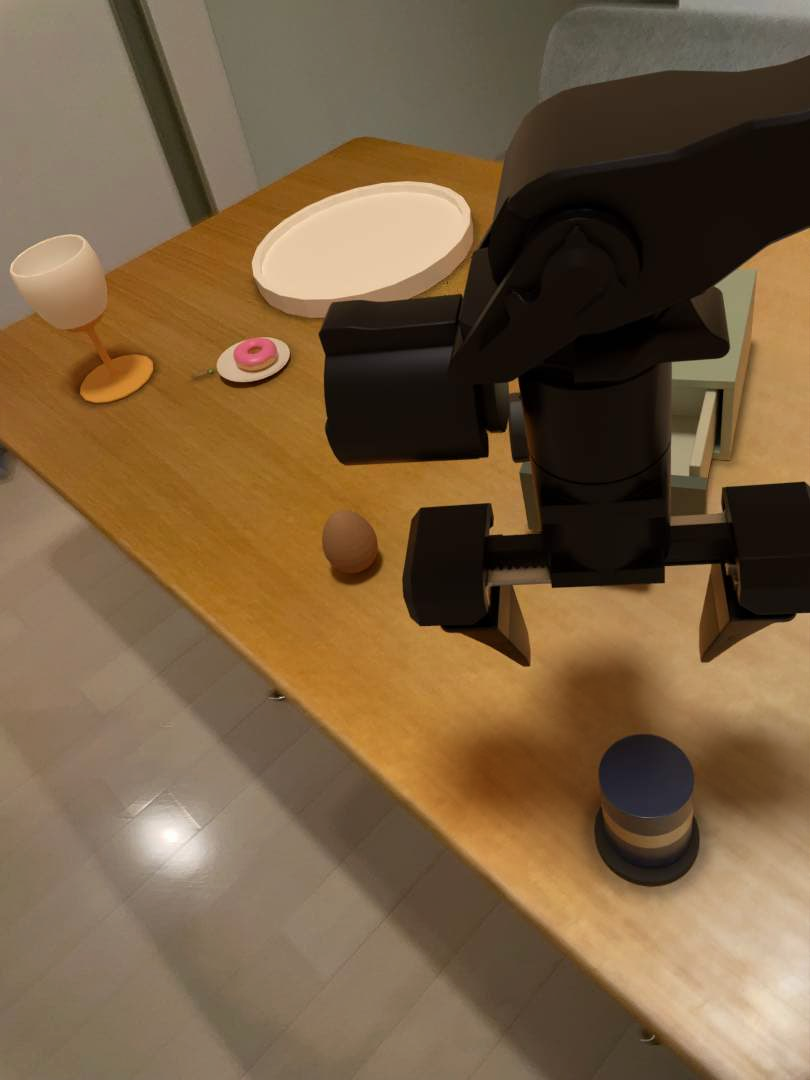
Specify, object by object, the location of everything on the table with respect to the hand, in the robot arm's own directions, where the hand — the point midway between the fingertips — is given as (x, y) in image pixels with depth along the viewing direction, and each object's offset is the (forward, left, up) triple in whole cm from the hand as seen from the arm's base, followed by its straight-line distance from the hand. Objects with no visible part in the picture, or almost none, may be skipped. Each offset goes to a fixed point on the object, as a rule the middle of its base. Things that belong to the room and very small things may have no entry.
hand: (613, 657), depth 46 cm
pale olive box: (+4, -37, -12) cm, 39 cm away
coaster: (-2, +4, -12) cm, 13 cm away
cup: (+65, -35, -12) cm, 75 cm away
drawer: (+4, -23, -11) cm, 26 cm away
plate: (+44, -62, -12) cm, 77 cm away
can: (-2, +4, -12) cm, 12 cm away
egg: (+24, -13, -12) cm, 30 cm away
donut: (+49, -38, -12) cm, 63 cm away
